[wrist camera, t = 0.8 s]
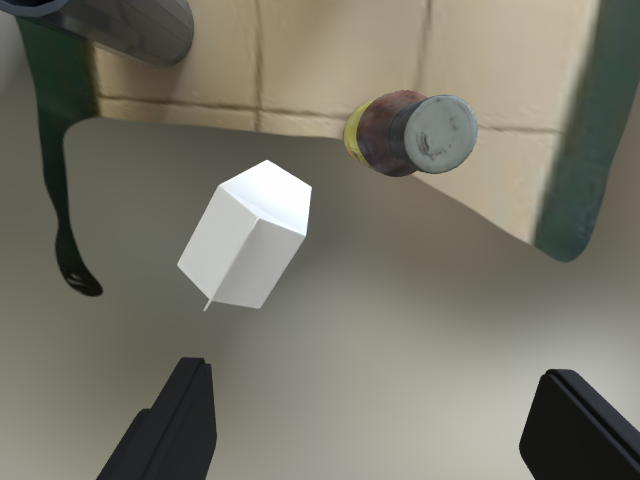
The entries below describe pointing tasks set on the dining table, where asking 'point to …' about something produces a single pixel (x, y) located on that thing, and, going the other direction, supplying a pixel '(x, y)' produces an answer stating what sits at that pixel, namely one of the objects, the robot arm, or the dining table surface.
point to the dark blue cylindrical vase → (117, 25)
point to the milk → (248, 236)
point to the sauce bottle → (411, 133)
